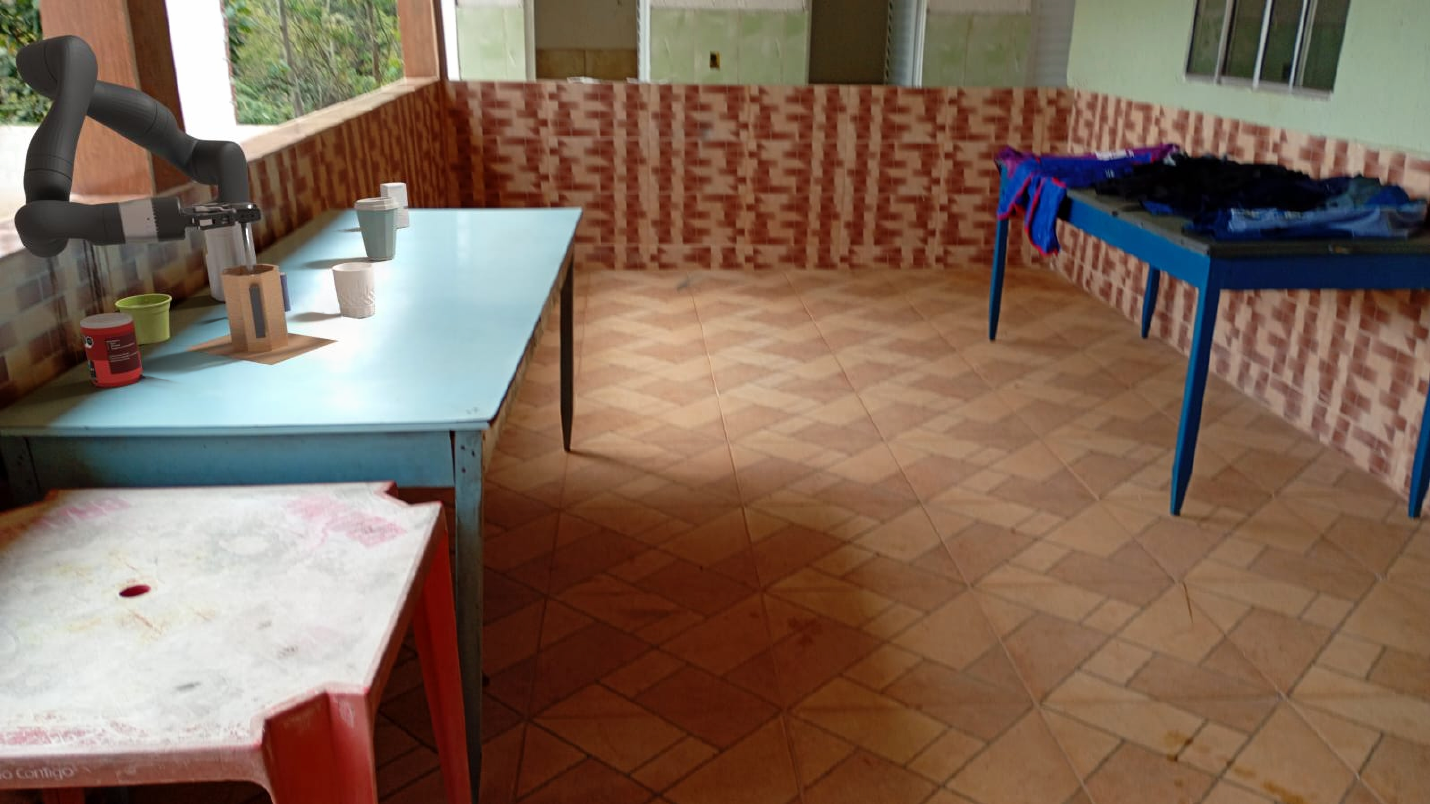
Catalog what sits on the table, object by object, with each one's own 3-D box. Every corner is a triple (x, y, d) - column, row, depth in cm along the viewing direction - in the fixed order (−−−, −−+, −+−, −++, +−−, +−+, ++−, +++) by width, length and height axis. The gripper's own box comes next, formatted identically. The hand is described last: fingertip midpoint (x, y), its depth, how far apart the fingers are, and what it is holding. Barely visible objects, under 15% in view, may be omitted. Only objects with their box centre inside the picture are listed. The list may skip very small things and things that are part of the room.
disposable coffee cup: (350, 261, 279) (343, 199, 274) (378, 252, 288) (371, 192, 283) (386, 264, 275) (379, 202, 270) (413, 255, 285) (407, 195, 279)
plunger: (232, 331, 206) (212, 205, 198) (260, 322, 211) (241, 200, 203) (258, 335, 203) (239, 208, 195) (285, 326, 208) (268, 202, 201)
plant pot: (143, 355, 207) (134, 309, 204) (113, 347, 211) (104, 302, 208) (189, 342, 214) (182, 297, 211) (159, 335, 219) (151, 291, 216)
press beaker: (219, 349, 206) (207, 273, 201) (262, 335, 214) (251, 262, 209) (263, 356, 201) (251, 279, 196) (305, 342, 210) (295, 267, 205)
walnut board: (183, 355, 206) (182, 348, 206) (253, 332, 220) (252, 326, 219) (272, 371, 197) (271, 364, 197) (339, 346, 211) (338, 340, 210)
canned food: (103, 374, 196) (91, 313, 193) (151, 373, 197) (139, 311, 193) (83, 389, 189) (70, 325, 185) (133, 387, 190) (121, 323, 186)
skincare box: (391, 229, 316) (386, 185, 312) (383, 227, 319) (378, 184, 315) (411, 226, 320) (406, 183, 316) (402, 224, 323) (398, 181, 319)
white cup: (366, 320, 228) (361, 271, 224) (330, 318, 229) (324, 270, 226) (385, 310, 235) (379, 263, 232) (350, 308, 237) (344, 261, 233)
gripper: (149, 204, 187) (260, 196, 194) (147, 192, 199) (251, 185, 206) (157, 249, 189) (266, 239, 196) (154, 235, 201) (257, 226, 208)
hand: (258, 211), depth 201 cm, fingers closed on plunger, 4 cm apart
